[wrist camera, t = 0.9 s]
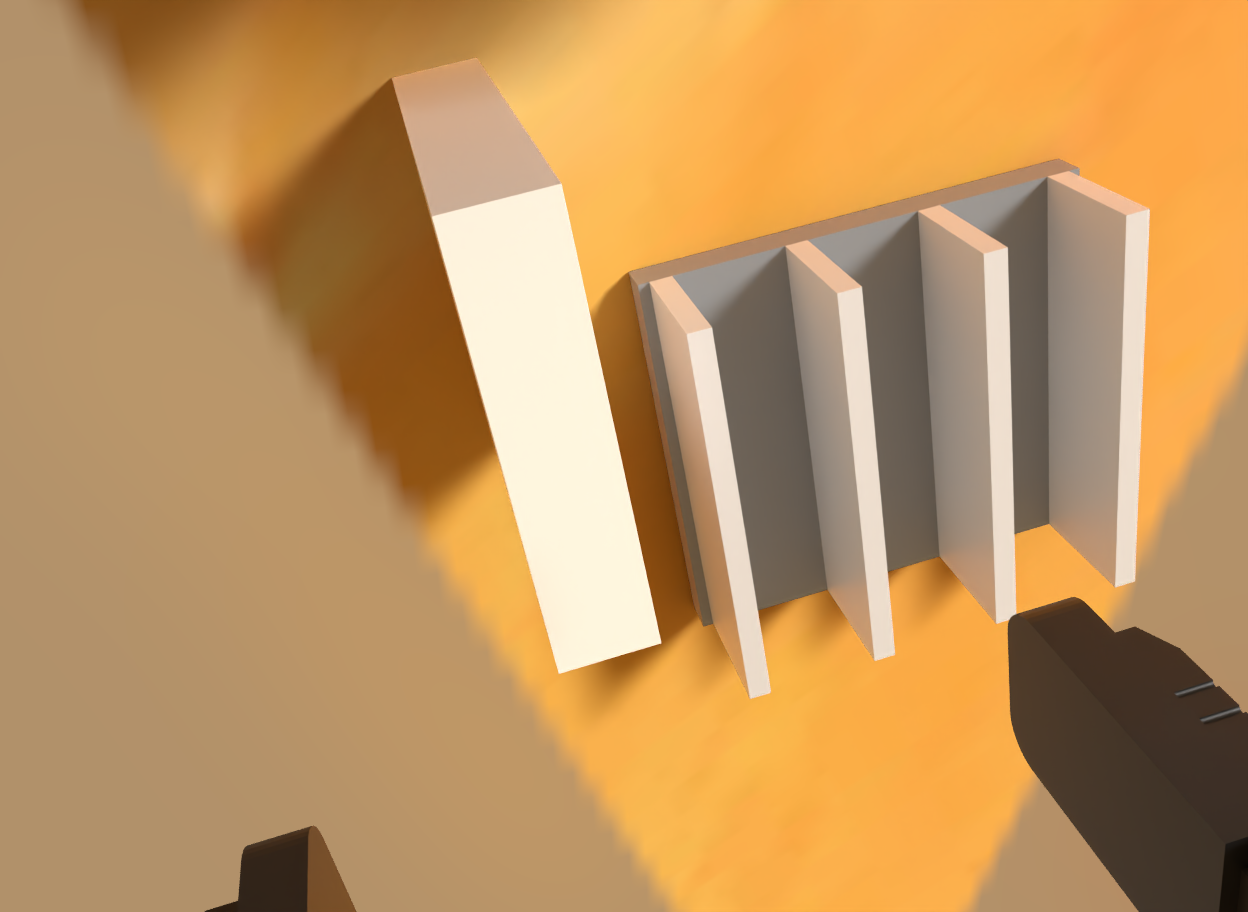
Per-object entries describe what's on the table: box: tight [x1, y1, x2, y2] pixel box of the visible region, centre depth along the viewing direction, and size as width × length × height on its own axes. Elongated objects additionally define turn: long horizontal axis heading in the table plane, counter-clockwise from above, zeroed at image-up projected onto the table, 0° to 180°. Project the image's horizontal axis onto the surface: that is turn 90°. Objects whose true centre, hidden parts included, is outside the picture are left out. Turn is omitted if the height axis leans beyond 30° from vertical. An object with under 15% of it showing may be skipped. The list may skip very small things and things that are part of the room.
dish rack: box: [629, 159, 1150, 699], centre depth 32 cm, size 11×12×4 cm
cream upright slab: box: [392, 57, 661, 674], centre depth 25 cm, size 9×2×11 cm, turn 11°
